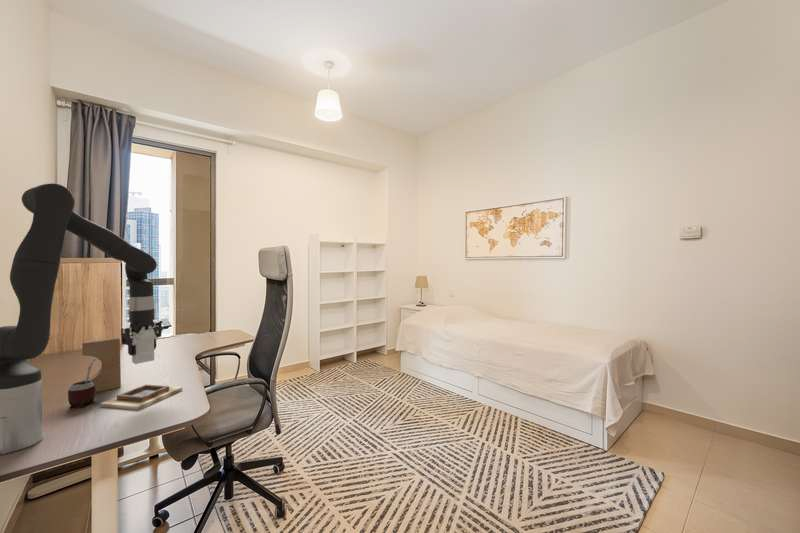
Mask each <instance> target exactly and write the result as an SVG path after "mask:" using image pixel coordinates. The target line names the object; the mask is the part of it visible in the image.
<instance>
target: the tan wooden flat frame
mask: <svg viewBox="0 0 800 533" xmlns="http://www.w3.org/2000/svg"><path fill="white" fill-rule="evenodd" d="M181 391H182V392H183V387H182V386H173V385H159V384H158V385H157V384H144V385H141V386H137V387H135V388H133V389H130V390H128V391H125V392H122V393H119V394H117V395H116V397H113V398H111V399H109V400H106V401H104V402H100V407H101V408H110V409H111V408H113V409H121V410H122V409H123V410H132V411H139V410H142V409H144V408H146V407H148V406H150V405H152V404H155V403H157V402H159V401H162V400H163V399H166V398H168V397H171V396H172V395H175V394H177V393H179V392H181Z"/></svg>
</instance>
